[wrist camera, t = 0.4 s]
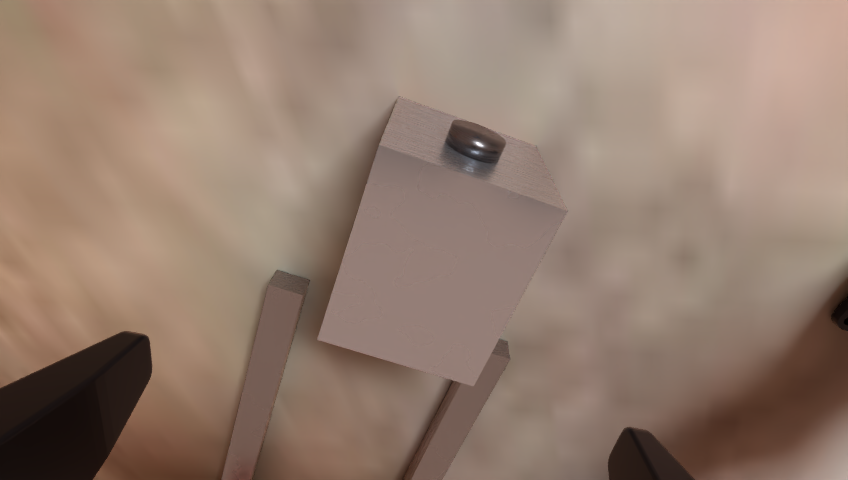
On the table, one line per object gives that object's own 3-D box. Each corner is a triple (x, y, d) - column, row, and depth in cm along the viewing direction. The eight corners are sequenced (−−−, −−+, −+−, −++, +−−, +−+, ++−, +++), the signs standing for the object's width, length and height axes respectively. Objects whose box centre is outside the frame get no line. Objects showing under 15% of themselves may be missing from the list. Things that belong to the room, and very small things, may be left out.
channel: (507, 341, 24) (519, 416, 20) (393, 548, 32) (385, 631, 28) (276, 269, 22) (239, 334, 18) (219, 503, 30) (184, 584, 26)
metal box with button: (542, 130, 19) (577, 192, 14) (468, 288, 23) (473, 386, 17) (404, 79, 18) (385, 123, 13) (349, 250, 22) (317, 339, 17)
